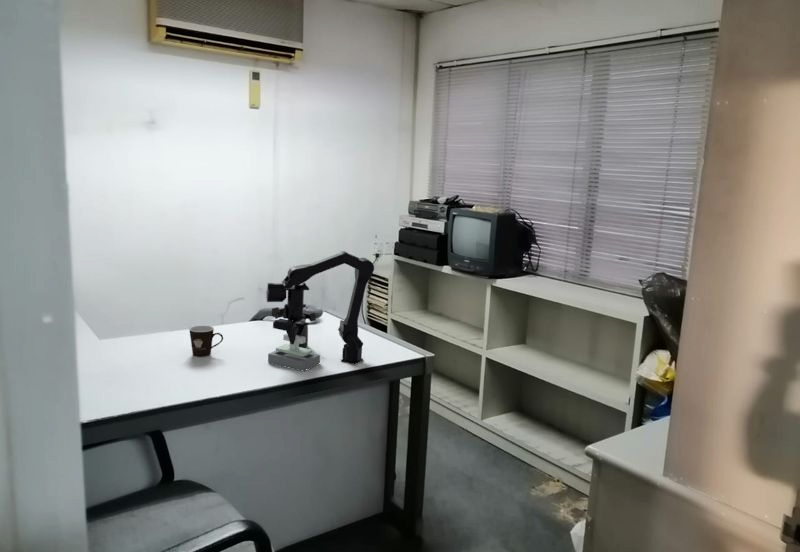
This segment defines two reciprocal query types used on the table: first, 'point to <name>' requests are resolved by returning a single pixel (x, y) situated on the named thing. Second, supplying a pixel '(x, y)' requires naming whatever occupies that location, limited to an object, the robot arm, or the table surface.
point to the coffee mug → (202, 340)
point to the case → (294, 360)
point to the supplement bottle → (305, 334)
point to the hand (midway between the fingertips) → (294, 343)
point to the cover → (294, 346)
